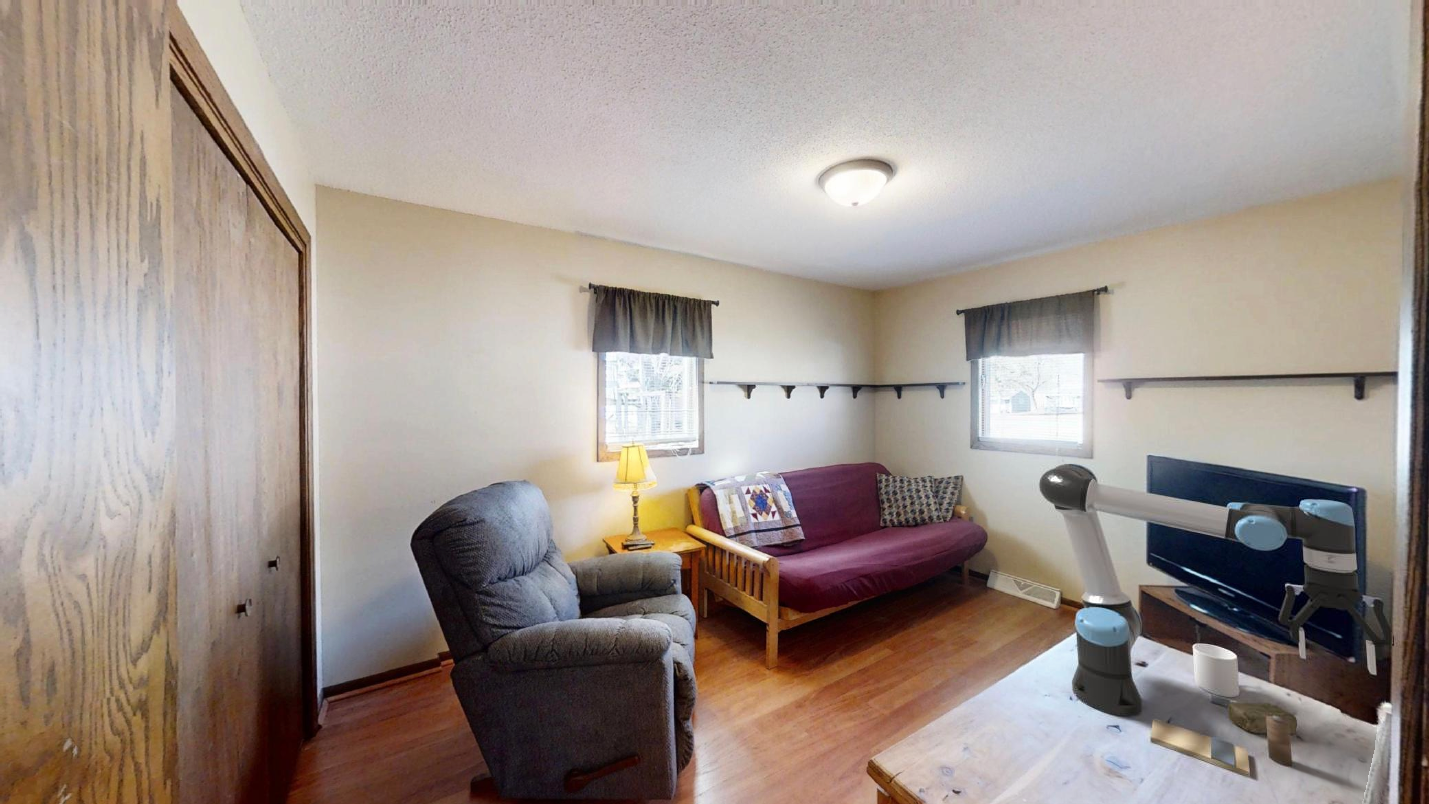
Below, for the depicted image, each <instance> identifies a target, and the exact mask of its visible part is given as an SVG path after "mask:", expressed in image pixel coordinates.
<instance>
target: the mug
mask: <svg viewBox="0 0 1429 804" xmlns="http://www.w3.org/2000/svg"><path fill="white" fill-rule="evenodd" d="M1192 653H1193V654H1192V655H1193V658H1192V659H1193V669H1194V670H1193V672H1194V681H1195V684H1196V686H1198V687H1199V688H1200V689H1202V690H1204V691H1206V692H1208V693H1209V694H1211V695H1215V696H1218V697H1223V698H1235V697H1238V696H1239V694H1240V681H1239V665H1238V656H1237V654H1236V653H1234V652H1233V651H1231V650H1229V649H1226V648H1223V647H1221V646H1218V645H1213V644H1208V643H1195V644H1193V645H1192Z"/></svg>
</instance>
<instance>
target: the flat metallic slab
mask: <svg viewBox="0 0 1429 804" xmlns="http://www.w3.org/2000/svg"><path fill="white" fill-rule="evenodd" d="M1229 702H1231V699H1228V698H1226V697H1222V696H1219V695H1215V694H1210V703H1211V704H1214V705H1217V706H1221V707H1225V708H1228V703H1229ZM1152 719H1153V720H1152V723H1151V725H1152V726H1151V731H1150V742H1151V743H1154V744H1156V745H1159V746H1162V747H1164V748H1167V749H1170V750H1173V751H1177V752H1178V753H1181V754H1184V755H1187V756H1190V757H1193V758H1195V759H1199V760H1201V761H1204V762H1206V763H1209V764H1212V765H1215V766H1217V767H1220V768H1223V769H1226V770H1228V771H1231V772H1235V773H1236V774H1239V775H1243V776H1245V777H1248V778H1251V773H1250V770H1251V769H1250V763H1249V752H1248V749H1246V748H1243V747H1239V746H1237V745H1234V743H1232V742H1229V741H1226V740H1223V739H1219V738H1218V737H1214V736H1207V735H1203V734H1201V733H1199V732H1196V731H1193V730H1189V729H1186V728H1183V727H1180V726H1177V725H1175V724H1171V723H1168V722H1166V721H1161V720H1159V719H1156V718H1152Z"/></svg>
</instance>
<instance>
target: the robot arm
mask: <svg viewBox="0 0 1429 804" xmlns="http://www.w3.org/2000/svg"><path fill="white" fill-rule="evenodd" d="M1038 485H1039V491H1040V493H1041V495H1042V496H1043V498H1045V500H1046V501H1047V502H1050V503H1051V504H1052V505H1053V506H1054V509H1055V511H1057V512H1059V513H1060V514H1062V516H1063V520H1064V523H1065V526H1066V529H1067V532H1068V537H1069V539H1070V543H1071V546H1072V549H1073V552H1074V556H1075V559H1076V562H1077V563H1076V564H1077V566H1078V569H1079V572H1080V577H1081V580H1082V583H1083V586H1084V589H1085V592H1084V593H1083V594H1082V595H1081V600H1082V604H1083V607H1084V608H1081V609H1080V610H1078V611H1077V612H1076V614H1075V620H1074V625H1075V633H1076V648H1077V650H1076V652H1077V662H1078V664H1077V667H1076V669H1075V672H1074V675H1073V677H1072V680H1071V690H1072V693H1073V692H1074V693H1073V695H1075V694H1076V695H1075V697H1076V696H1078V697H1077V699H1078V700H1080V699H1081V700H1082V702H1083V701H1084V702H1085V703H1084V702H1083V703H1084V704H1086V703H1087V704H1086V705H1088V706H1090V707H1091V708H1094V709H1095V710H1099V711H1101V712H1105V713H1108V714H1111V715H1118V716H1125V717H1128V716H1129V717H1130V716H1131V717H1132V716H1138V715H1139V714H1141V713H1142V712H1143V710H1144V709H1143V700H1142V697H1141V695H1140V693H1139V690H1138V687H1137V685H1136V684H1135V681H1134V679H1133V672H1132V670H1133V669H1132V657H1131V656H1132V655H1131V654H1132V649H1133V646H1134V645H1135V644H1136V641H1137V640H1138V638H1140V636H1141V633H1142V628H1143V623H1142V622H1143V621H1142V618H1141V615H1140V613H1139V612H1138V610H1137V609H1136V608H1135V607H1134V606H1133V603H1132V600H1131V597H1130V596H1129V595H1128V594H1127V593H1125V592H1123V591H1122V589H1121V585H1120V583H1119V580H1118V576H1117V573H1116V570H1115V567H1114V563H1113V560H1112V556H1111V553H1110V551H1109V546H1108V544H1107V541H1106V537H1105V534H1104V531H1103V529H1102V524H1101V522H1100V518H1099V515H1098V512H1102V513H1107V514H1110V515H1114V516H1119V517H1125V518H1130V519H1132V520H1133V519H1134V520H1138V521H1143V522H1147V523H1152V524H1157V525H1162V526H1164V527H1165V526H1166V527H1171V528H1176V529H1181V530H1185V531H1189V532H1194V533H1197V534H1198V533H1199V534H1203V535H1208V536H1212V537H1217V538H1222V539H1226V540H1230V541H1234V542H1239V543H1242V544H1243V545H1245V546H1246V547H1249V548H1251V549H1254V550H1258V551H1272V550H1276V549H1279V548H1280V547H1282V546H1283V545H1284V543H1285V542H1286V540H1287V538H1289V539H1298V540H1302V551H1303V555H1302V556H1303V562H1304V563H1305V565H1304V568H1303V569H1304V571H1303V572H1304V583H1303V584H1302V585H1300V584H1299V585H1298V584H1292V583H1290V582H1286V583H1285V584H1284V586H1285V591H1286V592H1285V597H1284V599H1283V602H1282V606H1281V608H1280V611H1279V615H1278V618H1277V619H1278V621H1279V623H1280V624H1281V625H1283V626H1287V627H1289V628H1290V637H1291V641H1292V642H1295V643H1298V650H1299V651H1298V652H1299V656H1300V659H1305V660H1307V655H1306V638H1305V630H1304V628H1303V627H1302V626H1303V625H1304V624H1305V623H1306V621H1307V620H1308V619H1309V618H1310V617H1311V616H1312V615H1313V614H1314V613H1315V611H1316V610H1318V609H1320V607H1322V608H1328V609H1329V608H1331V609H1332V608H1334V609H1335V610H1341V611H1346V610H1347V612H1348V613H1349V614H1350V616H1351V617H1352V618H1353V619H1354V620H1355V621H1356V623H1357V624H1358V625H1359V627H1360V628H1361V629H1362V631H1363V632H1364V633H1365V634H1366V635H1367V637H1368V638H1369V639H1370V640H1367V639H1366V640H1365V645H1366V660H1367V670H1368V671H1369V674H1370V675H1374V676H1377V665H1376V664H1377V663H1376V660H1379V661H1383V660H1384V648H1385V646H1391V632H1392V631H1393V630H1392V629H1391V626H1390V624H1389V622H1388V620H1387V617H1386V616H1385V613H1384V601H1383V600H1382V598H1381V597H1379V596H1369V595H1364V594H1362V593H1361V592H1360V590H1359V589H1360V588H1359V577H1358V575H1359V573H1357V571H1356V570H1358V564H1357V554H1356V552H1357V550H1356V549H1357V548H1356V529H1355V528H1356V527H1355V526H1356V524H1355V519H1354V513H1353V508H1352V507H1351V506H1350V505H1349V504H1347V503H1345V502H1340V501H1337V500H1336V501H1335V500H1329V499H1311V498H1310V499H1307V498H1306V499H1304V500H1301V501H1300V504H1299V506H1294V507H1293V506H1284V505H1283V506H1282V505H1271V504H1270V505H1269V504H1261V503H1250V502H1229V503H1228V504H1227V505H1226V506H1221V505H1214V504H1209V503H1204V502H1200V501H1194V500H1193V501H1192V500H1188V499H1183V498H1182V499H1181V498H1177V497H1172V496H1166V495H1161V494H1157V493H1156V494H1155V493H1150V492H1145V491H1139V490H1134V489H1133V490H1132V489H1129V488H1122V487H1116V486H1111V485H1105V484H1101V483H1099V482H1098V478H1097V476H1096V474H1095V473H1094V472H1093V471H1092V470H1091V469H1089V467H1086V466H1084V465H1081V464H1077V463H1064V464H1059V465H1057V466H1055V467H1054V468H1051V469H1048V470H1047V471H1046V472H1045V473H1044V474H1042V476H1041V477H1040V479H1039V483H1038ZM1301 592H1304V593H1305V594H1307V595H1308V597H1309V599H1308V600H1307V602H1306V604H1305V605H1303V607H1302V608H1301V609H1300V610H1299V611H1298V612H1297V614H1296V615H1295V616H1294V617H1293V618H1292V619H1290V616H1291V613H1292V610H1293V608H1294V607H1293V606H1294V603H1295V601H1296V596H1299V595H1300V593H1301ZM1362 601H1364V602H1365V604H1366V605H1367V606H1368V607H1370V608H1371V610H1372V612H1373V615H1374V617H1375V619H1376V622H1377V624H1378V626H1379V629H1380V631H1381V633H1382V635H1383V636H1378V635H1377V634H1376V632H1375V631H1374V630H1373V628H1372V627H1371V626H1370V624H1368V622H1367V621H1366V619H1364V618H1363V616H1362V615H1361V614H1360V612H1359V611H1358V610H1357V609H1356V608H1355V606H1356V605H1357V604H1358V603H1360V602H1362ZM1392 633H1393V632H1392ZM1394 638H1395V636H1394V635H1393V644H1392V647H1395V646H1394ZM1081 700H1080V701H1081Z"/></svg>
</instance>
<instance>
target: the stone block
mask: <svg viewBox="0 0 1429 804" xmlns="http://www.w3.org/2000/svg"><path fill="white" fill-rule="evenodd" d="M1273 715H1275V716H1279V717H1281V718H1282V719H1283V720H1285V721H1287V722H1288V723H1289V725H1290V735H1294V734H1296V733H1297V731H1298V719H1297V717H1296V716H1295V715H1294V714H1293V713H1291V712H1290V711H1287V710H1285V709H1284V708H1282V707H1280V706H1279V705H1276V704H1271V703H1268V702H1263V703H1262V702H1240V701H1238V702H1237V701H1236V702H1233V701H1230V702H1229V703H1228V718H1229V720H1230V721H1231V723H1233V724H1234V725H1236V726H1237V727H1238V728H1243V730H1245V731H1246V732H1251V733H1255V734H1267V722H1266V717H1267V716H1273Z"/></svg>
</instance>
